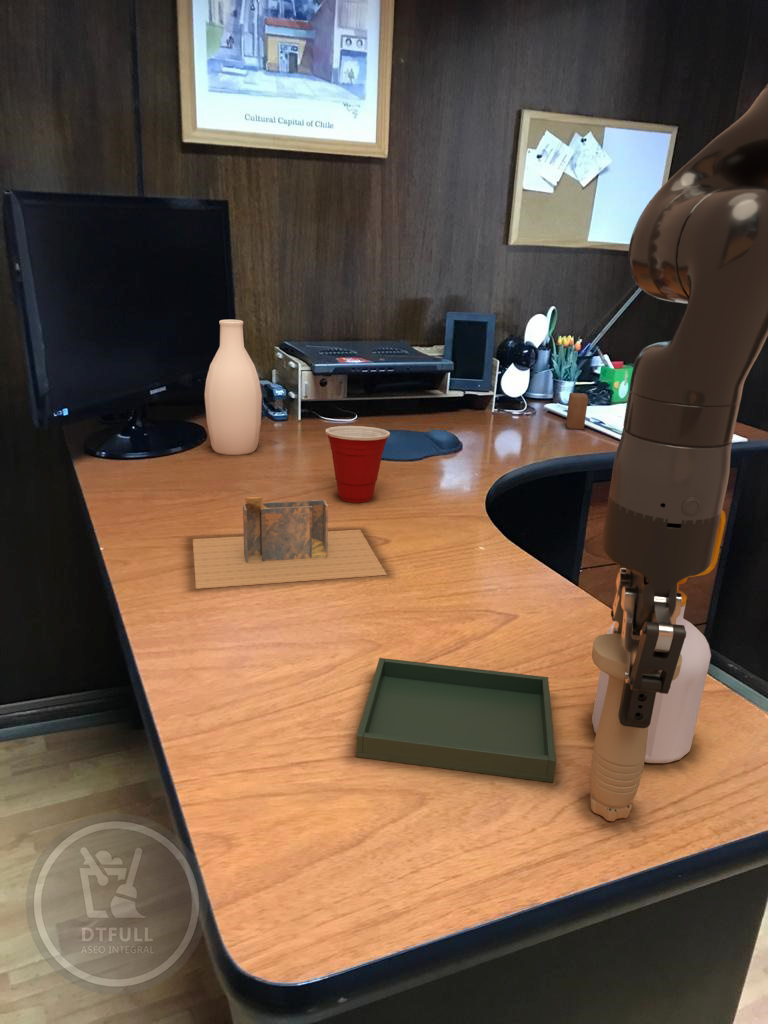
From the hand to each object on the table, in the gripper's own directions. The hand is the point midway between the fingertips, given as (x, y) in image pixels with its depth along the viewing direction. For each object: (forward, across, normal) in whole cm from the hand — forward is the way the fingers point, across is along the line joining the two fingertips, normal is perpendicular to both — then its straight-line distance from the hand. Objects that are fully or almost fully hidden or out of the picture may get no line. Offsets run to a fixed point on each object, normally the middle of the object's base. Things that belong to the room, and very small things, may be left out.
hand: (627, 702), depth 60 cm
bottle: (+11, -92, -63) cm, 112 cm away
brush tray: (+10, -9, -13) cm, 19 cm away
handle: (+11, 0, 0) cm, 11 cm away
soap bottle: (+11, -11, +4) cm, 16 cm away
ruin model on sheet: (+11, -43, -39) cm, 59 cm away
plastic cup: (+11, -70, -34) cm, 79 cm away
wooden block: (+11, -133, +8) cm, 134 cm away
